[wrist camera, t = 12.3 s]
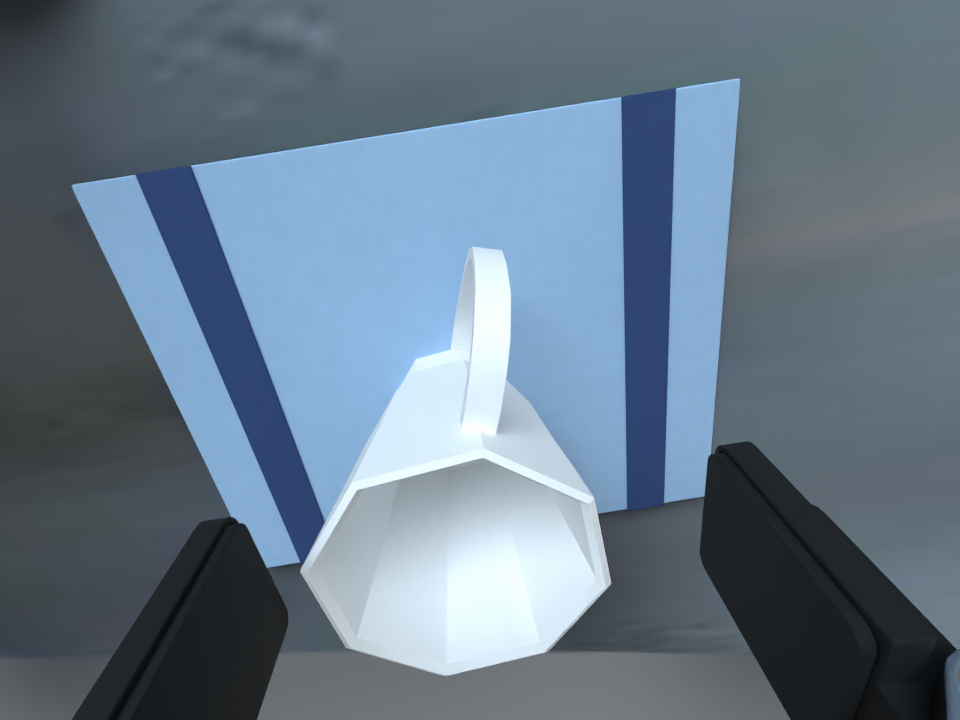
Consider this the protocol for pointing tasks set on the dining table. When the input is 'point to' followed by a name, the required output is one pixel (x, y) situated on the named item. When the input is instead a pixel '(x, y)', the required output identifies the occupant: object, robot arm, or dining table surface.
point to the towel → (438, 292)
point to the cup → (460, 511)
